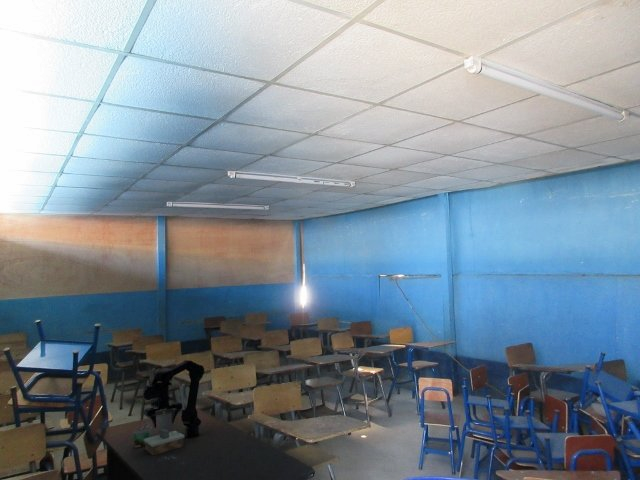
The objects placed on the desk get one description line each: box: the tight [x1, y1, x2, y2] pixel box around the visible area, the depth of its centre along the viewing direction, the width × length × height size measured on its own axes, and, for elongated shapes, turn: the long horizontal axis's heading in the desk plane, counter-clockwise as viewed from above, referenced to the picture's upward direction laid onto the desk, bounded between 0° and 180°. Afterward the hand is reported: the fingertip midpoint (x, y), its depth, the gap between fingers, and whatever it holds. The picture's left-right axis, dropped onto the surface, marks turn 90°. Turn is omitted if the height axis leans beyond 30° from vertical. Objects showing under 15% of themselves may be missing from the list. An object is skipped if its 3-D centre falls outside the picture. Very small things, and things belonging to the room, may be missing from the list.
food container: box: [132, 422, 153, 449], centre depth 236 cm, size 12×6×10 cm, turn 168°
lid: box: [144, 428, 185, 447], centre depth 229 cm, size 17×12×6 cm
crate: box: [144, 438, 184, 456], centre depth 228 cm, size 16×11×5 cm
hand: (163, 425), depth 229 cm, fingers open, 9 cm apart
